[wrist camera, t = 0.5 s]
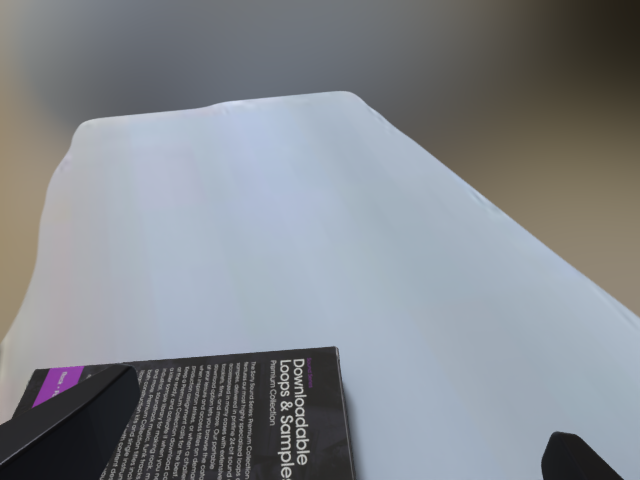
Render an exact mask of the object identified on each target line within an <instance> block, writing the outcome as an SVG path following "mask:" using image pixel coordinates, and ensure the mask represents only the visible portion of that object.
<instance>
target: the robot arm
mask: <svg viewBox="0 0 640 480" xmlns="http://www.w3.org/2000/svg"><path fill="white" fill-rule="evenodd" d="M140 396H141V391H140V386H139V381H138V376H137V371H136V368H135V367H134V366H132V365H128V364H121V363H116V364H114V365H111V366H110V367H108V368H106V369H104V370H102V371H100V372H98V373H96V374H95V375H93V376H91V377H89V378H87V379H85V380H83V381H82V382H80V383H78V384H76V385H74V386H72V387H70V388H69V389H67V390H65V391H63V392H61V393H59V394H57V395H55V396H54V397H52V398H50V399H48V400H46V401H44V402H42V403H41V404H39V405H37V406H35V407H33V408H31V409H29V410H27V411H26V412H24V413H22V414H20V415H18V416H16V417H14V418H13V419H11V420H9V421H7V422H5V423H3V424H1V425H0V480H99V478H100V476H101V475H102V473H103V471H104V470H105V468H106V466H107V464H108V462H109V461H110V459H111V457H112V455H113V453H114V451H115V449H116V447H117V445H118V443H119V441H120V439H121V437H122V435H123V433H124V431H125V429H126V427H127V425H128V423H129V421H130V419H131V417H132V415H133V413H134V411H135V409H136V407H137V405H138V403H139V400H140ZM541 469H542V475H543V480H624V479H623V478H622V477H621V476H619V475H618V474H617V473H616V472H615V471H614V470H613V469H612V468H611V467H610V466H609V465H608V464H607V463H606V462H605V461H604V460H603V459H602V458H601V457H600V456H599V455H598V454H597V453H596V452H595V451H594V450H593V449H592V448H591V447H590V446H589V445H588V444H587V443H586V442H584V441H583V440H582V439H581V438H580V437H579V436H577V435H575V434H571V433H564V432H558V431H557V432H554V433H552V435H551V437H550V439H549V442H548V444H547V447H546V449H545V452H544V454H543V457H542V461H541Z"/></svg>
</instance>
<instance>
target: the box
mask: <svg viewBox="0 0 640 480" xmlns="http://www.w3.org/2000/svg"><path fill="white" fill-rule="evenodd" d="M115 364H116V363H115ZM121 364H128V365H132V366H134V367H135V368H136V371H137V376H138V381H139V386H140V391H141V396H140V400H139V403H138V405H137V407H136V409H135V411H134V413H133V415H132V417H131V419H130V421H129V423H128V425H127V427H126V429H125V431H124V433H123V435H122V437H121V439H120V441H119V443H118V445H117V447H116V449H115V451H114V453H113V455H112V457H111V459H110V461H109V462H108V464H107V466H106V468H105V470H104V471H103V473H102V475H101V476H100V478H99V480H356V477H355V470H354V463H353V456H352V448H351V441H350V434H349V427H348V420H347V413H346V406H345V399H344V391H343V384H342V377H341V370H340V359H339V351H338V348H337V347H334V346H333V347H322V348H308V349H294V350H282V351H268V352H256V353H243V354H229V355H217V356H204V357H191V358H178V359H163V360H148V361H134V362H123V363H121ZM111 365H114V364H103V365H88V366H75V367H63V368H49V369H36V370H35V371H34V372H33V374H32V375H31V377H30V379H29V381H28V383H27V387H26V390H25V392H24V395H23V396H22V398H21V400H20V402H19V404H18V407H17V408H16V410H15V412H14V414H13V417H12V419H13V418H14V417H16V416H18V415H20V414H22V413H24V412H26V411H27V410H29V409H31V408H33V407H35V406H37V405H39V404H41V403H42V402H44V401H46V400H48V399H50V398H52V397H54V396H55V395H57V394H59V393H61V392H63V391H65V390H67V389H69V388H70V387H72V386H74V385H76V384H78V383H80V382H82V381H83V380H85V379H87V378H89V377H91V376H93V375H95V374H96V373H98V372H100V371H102V370H104V369H106V368H108V367H110V366H111Z"/></svg>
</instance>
